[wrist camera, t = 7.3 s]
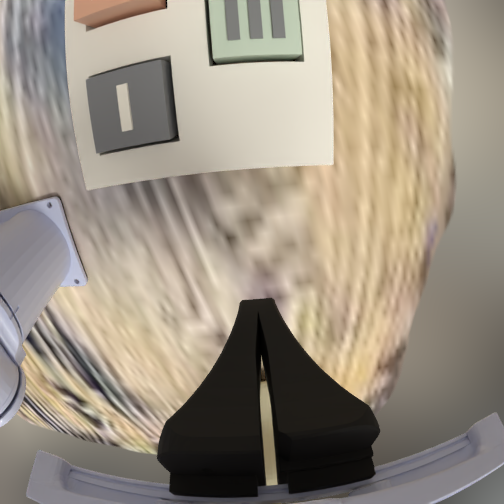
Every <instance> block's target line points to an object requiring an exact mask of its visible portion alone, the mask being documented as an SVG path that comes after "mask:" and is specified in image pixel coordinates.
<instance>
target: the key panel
mask: <svg viewBox="0 0 504 504" xmlns="http://www.w3.org/2000/svg"><path fill="white" fill-rule="evenodd" d="M298 10H299V21H300V32H301V45H302V55H300V56H299V57H297V58H295V61H296V62H256V63H240V64H228V65H218V66H213V61H212V49H211V36H210V22H209V8H208V0H167V9H162V10H158V11H153V12H149V13H145V14H141V15H137V16H134V17H130V18H126V19H123V20H120V21H116V22H113V23H110V24H107V25H104V26H101V27H98V28H94V27H91V26H88V25H85V24H82V23H79V22H75V21H74V0H65V49H66V66H67V79H68V89H69V98H70V106H71V113H72V120H73V126H74V132H75V138H76V144H77V149H78V154H79V159H80V164H81V168H82V173H83V177H84V182H85V186H86V190H87V191H88V190H93V189H98V188H104V187H109V186H115V185H121V184H127V183H133V182H139V181H146V180H152V179H159V178H167V177H174V176H182V175H191V174H199V173H209V172H218V171H229V170H241V169H254V168H268V167H286V166H310V165H333V89H332V67H331V51H330V38H329V26H328V16H327V6H326V0H298ZM156 60H164V61H166V62H171V66H172V77H173V87H174V97H175V106H176V115H177V124H178V132H179V136H177V137H173V138H171V139H170V140H163V141H157V142H151V143H146V144H140V145H135V146H130V147H125V148H120V149H115V150H110V151H106V152H101V153H97V154H96V149H95V144H94V138H93V132H92V126H91V119H90V112H89V105H88V97H87V88H86V79H89V78H92V77H95V76H99V75H102V74H105V73H108V72H112V71H115V70H119V69H123V68H126V67H130V66H134V65H138V64H142V63H147V62H151V61H156Z"/></svg>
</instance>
